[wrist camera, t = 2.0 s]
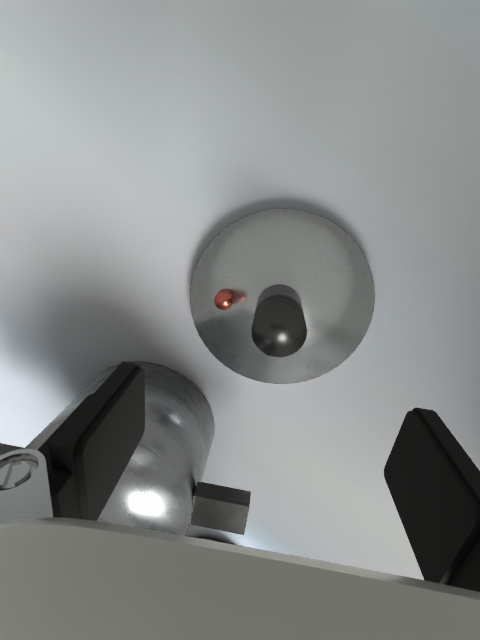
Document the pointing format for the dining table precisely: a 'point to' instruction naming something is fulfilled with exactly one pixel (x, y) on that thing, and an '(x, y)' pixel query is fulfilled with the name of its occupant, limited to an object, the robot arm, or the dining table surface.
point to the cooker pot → (166, 461)
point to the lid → (282, 296)
